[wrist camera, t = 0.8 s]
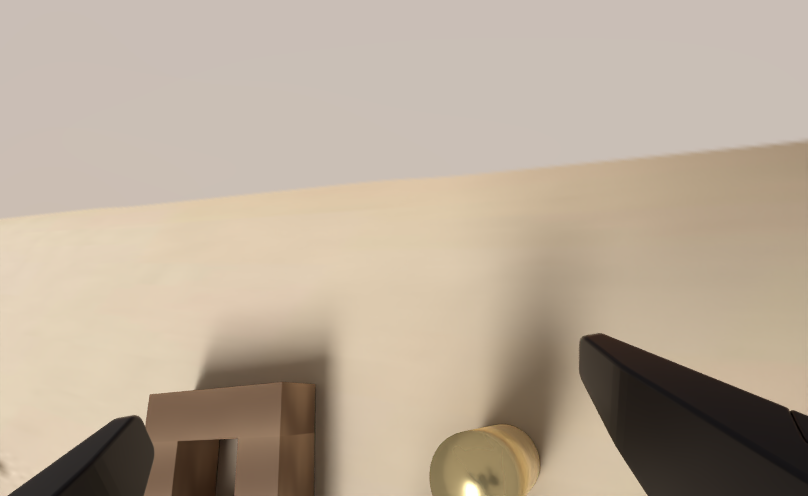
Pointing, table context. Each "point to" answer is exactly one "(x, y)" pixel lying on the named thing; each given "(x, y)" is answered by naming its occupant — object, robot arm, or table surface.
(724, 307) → the table surface
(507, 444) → the pin medium
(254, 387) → the hole block
